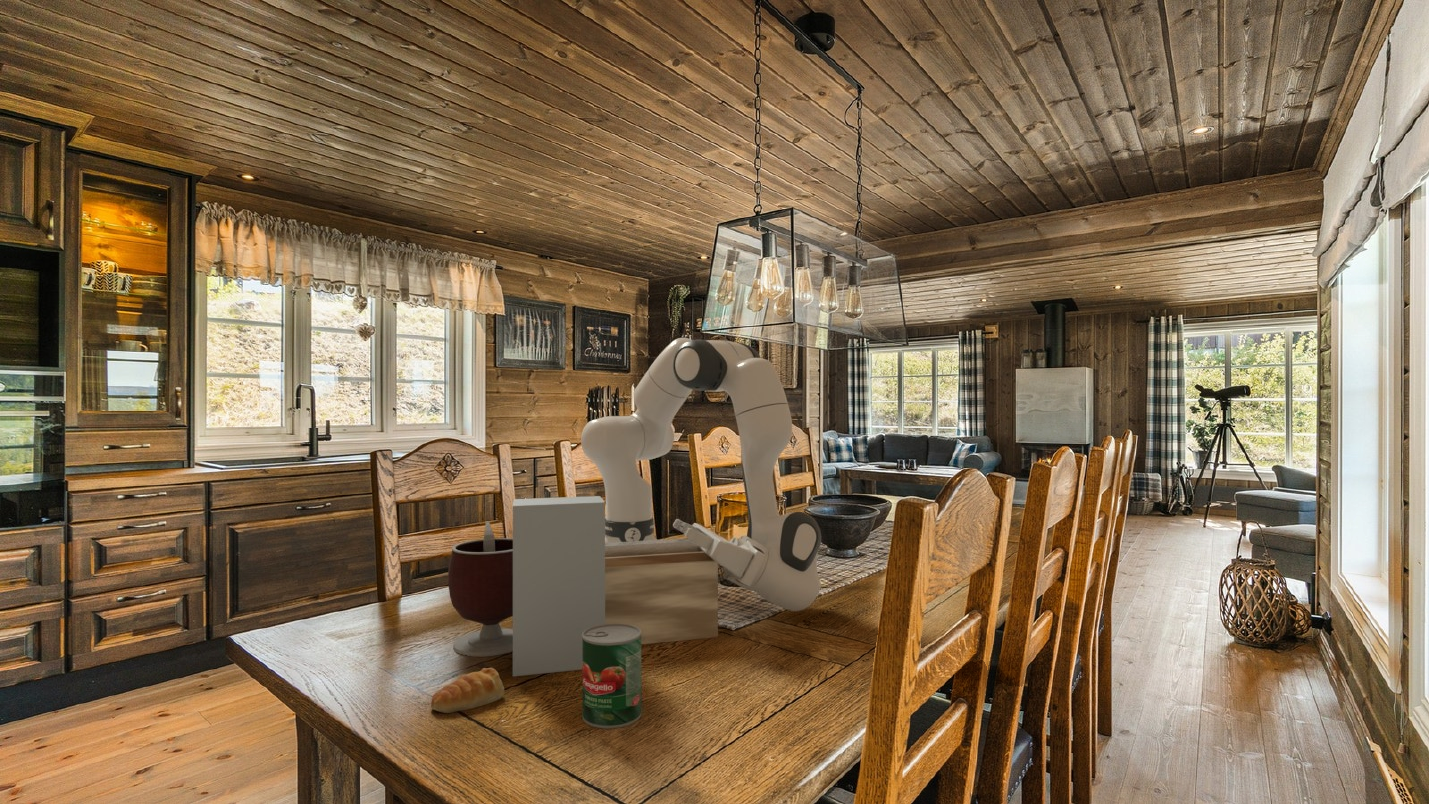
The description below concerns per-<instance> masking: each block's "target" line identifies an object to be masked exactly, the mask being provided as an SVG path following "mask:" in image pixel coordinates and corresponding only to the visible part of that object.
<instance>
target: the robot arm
mask: <svg viewBox="0 0 1429 804" xmlns="http://www.w3.org/2000/svg"><path fill="white" fill-rule="evenodd" d="M783 386H784V385H783V383H782V382H781V378H780V377H779V374H778V372H777V369H776V368H775V366H774V364H773V363H772V362H771V361H769V360H768V359H766V358H762V357H761V356H760V354H759V352H758V351H757V350H756V349H755V348H753V347H752V346H750V345H748V344H746V343H743V342H735V341H731V340H725V339H717V340H716V339H709V340H708V339H700V338H699V339H691V338H687V337H678V338H676V339H674V340H672V341H671V342H670V343H669V344H668V345H667V346H666V347H665V348H664V349H663V350H662V351H661V352H660V353H659V355H658V356H657V357H656V358H655V360H654V361H653V363H651V365H650V366H649V368H648V370H647V371H646V372H645V374H644V375H643V377H642V378H641V380H640V381H639V383H638V384H637V386H636V387H635V388H634V390H633V401H634V404H635V407H636V408H637V409H636V411H635V412H634V413H632V414H630V415H620V416H619V415H609V416H607V415H606V416H602V417H599V418H596V419H592V420H590V421H588V422H587V423H586V424H585V425H584V427H583V429H582V432H581V435H580V436H581V437H580V444H581V445H580V446H581V449H582V451H583V453H584V455H585V457H587V458H588V459H589V460H591V462H592V463H594V465H595V467H596V468H597V469H598V471H599V474H600V476H601V478H602V481H603V485H604V493H605V543H613V542H631V541H649V540H658V539H657V538H656V537H655V535H654V532H655V521H654V519H655V518H653V488H652V485H651V484H650V482H648V481H647V480H646V479H644V478H643V477H642V475H640V472H639V470H638V467H637V461H638V462H639V461H647V460H648V461H650V460H653V459H654V460H655V459H656V458H660V457H662V456H664V455H667V454H668V453H669V452H670V451H671V449H673V446H674V441H675V435H674V434H675V433H674V429H673V426H672V422H673V420H674V418H675V416H676V414H677V412H679V410H680V409H681V407H682V406H683V404H684V403H685V402H686V400H687V399H688V398H689V397H690V394H691V393H692V392H693V391H698V392H702V391H703V392H704V391H706V392H713V393H714V392H716V393H719V392H725V393H727V394H728V396H729V397H730V399H731V403H732V406H733V411H734V415H735V419H736V420H735V421H736V425H737V429H738V435H739V443H740V458H741V462H740V463H741V472H742V481H743V487H744V488H743V489H744V492H745V493H744V494H745V501H746V506H747V507H746V508H747V515H748V516H747V517H748V521H747V522H748V523H747V525H748V526H747V531H746V535H742V536H740V537H739V538H737V537H732V538H731V539H729V540H727V539H726V538H724V537H723V536H721V535H720V534H717V533H716V532H714V531H713V530H710V529H709V528H707V527H704V525H701V524H700V523H696V522H694V523H693V524H691V523H690V524H689V523H687V522H684V521H682V520H681V519H679V518H676V519H675V520H674V522H673V524H672V527H673V528H674V529H676V530H677V531H679V532H681V533H683V535H684V537H685V538H688V539H690V540H692V541H694V542H695V543H696V544H698V545H699V546H700V549H701V550H702V551H703V552H705V553H706V554H707V555H708V556H710V557H711V558H712V559H713V560H714V561H716V562H717V563H718V568H720V569H722V577H723V578H724V579H726V580H728V581H730V582H731V583H733V584H735V585H737V586H739V587H740V588H743V589H744V590H746V591H751V592H755V593H756V594H758V595H759V596H760V597H761V598H762V599H763V600H765V601H767V602H769V603H771V604H772V605H773V604H774V605H775V606H778V607H780V608H782V609H785V610H787V611H791V612H801V611H803V610H805V609H807V608H808V607H810V606H811V605H812V604H813V603H814V602H815V601H816V599H817V598H818V595H819V593H820V590H821V580H820V576H819V574H818V555H819V549H820V547H821V545H822V532H821V529H820V526H819V524H818V522H817V521H816V520H815V518H814V517H812V516H811V515H810V514H808V513H806V512H803V511H794V512H788V513H784V514H781V515H780V513H779V511H778V505H777V503H778V502H777V497H776V491H775V485H774V469H775V465H776V464H777V461H778V459H779V458H780V456H781V455H782V454H783V452H784V450H786V448H787V447H788V445H789V444H790V442H791V438H792V436H793V421H792V415H791V410H790V406H789V403H788V399H787V396H786V393H785V389H784V387H783Z"/></svg>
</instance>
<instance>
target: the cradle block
mask: <svg viewBox="0 0 1429 804" xmlns="http://www.w3.org/2000/svg"><path fill="white" fill-rule="evenodd" d="M612 623H620V624H629V625H633V626H636V627H638V628H639V629H640V630H641V633H642V634H641V645H650V644H659V643H661V644H663V643H671V642H672V643H673V642H679V641H682V642H683V641H690V640H701V639H702V640H703V639H711V638H719V564H718V563H717V562H716V561H714V560H713V559H712V558H711V557H710V556H708V555H707V554H706V553H705V552H703V551H701V552H685V553H668V554H652V555H635V556H619V557H605V624H612Z"/></svg>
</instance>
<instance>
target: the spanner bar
mask: <svg viewBox="0 0 1429 804" xmlns="http://www.w3.org/2000/svg"><path fill="white" fill-rule="evenodd" d="M701 551H702V550H701V549H700V546H699V545H698V544H696V543H695V542H694V541H692V540H690V539H688V538H686V537H685V538H671V539H670V538H669V539H657V540H649V541H631V542H613V543H605V557H619V556H635V555H652V554H668V553H685V552H701Z"/></svg>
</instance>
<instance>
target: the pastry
mask: <svg viewBox="0 0 1429 804" xmlns="http://www.w3.org/2000/svg"><path fill="white" fill-rule="evenodd" d="M499 674H500V673H499V672H498V671H497V670H496V669H495V668H494V667H488V668H486V667H483V668H482V669H480V671H473V672H469V673H466V674H462V675H459V676H458V677H457V678H456V679H455V680H453V681H452V682H451V683H449V684H446V685H445V686H443V687H442V688H441V689H440V690H438V691H437V692H435V693H434V694H432V698H431V701H430V709H432V710H434V711H436V712H439V713H444V714H451V713H455V712H462V711H468V710H473V709H476V708H478V707H481V706H484V705H488V704H492V703H494V702H496V701H498V700H500V699H503V695H505V687H504V685H503V684H504V683H503V681H502V680H501V678H500V675H499Z"/></svg>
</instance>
